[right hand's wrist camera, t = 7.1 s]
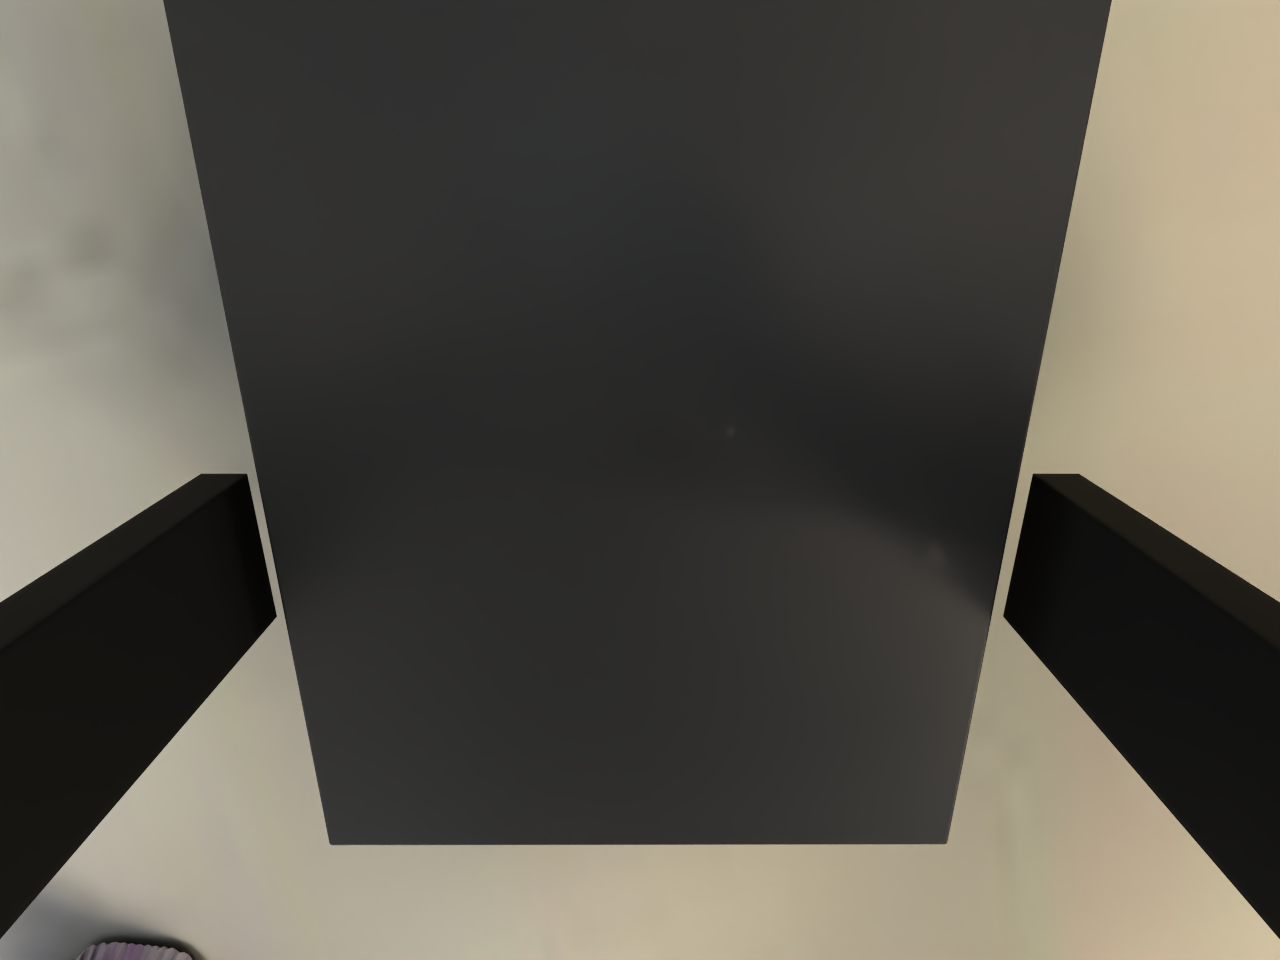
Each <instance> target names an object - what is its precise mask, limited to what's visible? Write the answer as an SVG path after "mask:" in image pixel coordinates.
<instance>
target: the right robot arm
mask: <svg viewBox="0 0 1280 960" xmlns="http://www.w3.org/2000/svg"><path fill="white" fill-rule="evenodd" d="M276 617H277V615H276V610H275V605H274V601H273V596H272V591H271V586H270V581H269V577H268V572H267V567H266V562H265V557H264V553H263V548H262V543H261V538H260V534H259V529H258V524H257V519H256V514H255V510H254V505H253V500H252V495H251V491H250V486H249V481H248V476H247V474H200V475H199V476H197V477H196V478H194V479H192V480H191V481H189V482H188V483H186V484H185V485H183V486H181V487H180V488H178V489H177V490H175V491H174V492H172V493H171V494H169V495H167V496H166V497H164V498H163V499H161V500H160V501H158V502H156V503H155V504H153V505H152V506H150V507H149V508H147V509H146V510H144V511H142V512H141V513H139V514H138V515H136V516H135V517H133V518H131V519H130V520H128V521H127V522H125V523H124V524H122V525H121V526H119V527H117V528H116V529H114V530H113V531H111V532H110V533H108V534H107V535H105V536H103V537H102V538H100V539H99V540H97V541H96V542H94V543H92V544H91V545H89V546H88V547H86V548H85V549H83V550H82V551H80V552H78V553H77V554H75V555H74V556H72V557H71V558H69V559H67V560H66V561H64V562H63V563H61V564H60V565H58V566H57V567H55V568H53V569H52V570H50V571H49V572H47V573H46V574H44V575H42V576H41V577H39V578H38V579H36V580H35V581H33V582H32V583H30V584H28V585H27V586H25V587H24V588H22V589H21V590H19V591H18V592H16V593H14V594H13V595H11V596H10V597H8V598H7V599H5V600H3V601H2V602H0V939H1V938H2V936H3V935H4V934H5V933H6V932H7V931H8V929H9V928H10V927H11V926H12V925H13V924H14V922H15V921H16V920H17V919H18V918H19V917H20V915H21V914H22V913H23V912H24V911H25V910H26V908H27V907H28V906H29V905H30V904H31V903H32V901H33V900H34V899H35V898H36V897H37V896H38V894H39V893H40V892H41V891H42V890H43V889H44V887H45V886H46V885H47V884H48V883H49V882H50V880H51V879H52V878H53V877H54V876H55V875H56V873H57V872H58V871H59V870H60V869H61V868H62V866H63V865H64V864H65V863H66V862H67V861H68V859H69V858H70V857H71V856H72V855H73V854H74V852H75V851H76V850H77V849H78V848H79V847H80V845H81V844H82V843H83V842H84V841H85V840H86V838H87V837H88V836H89V835H90V834H91V833H92V831H93V830H94V829H95V828H96V827H97V826H98V824H99V823H100V822H101V821H102V820H103V819H104V817H105V816H106V815H107V814H108V813H109V812H110V810H111V809H112V808H113V807H114V806H115V805H116V803H117V802H118V801H119V800H120V799H121V798H122V796H123V795H124V794H125V793H126V792H127V791H128V789H129V788H130V787H131V786H132V785H133V784H134V782H135V781H136V780H137V779H138V778H139V777H140V775H141V774H142V773H143V772H144V771H145V770H146V768H147V767H148V766H149V765H150V764H151V763H152V761H153V760H154V759H155V758H156V757H157V756H158V754H159V753H160V752H161V751H162V750H163V749H164V747H165V746H166V745H167V744H168V743H169V742H170V740H171V739H172V738H173V737H174V736H175V735H176V733H177V732H178V731H179V730H180V729H181V728H182V726H183V725H184V724H185V723H186V722H187V721H188V719H189V718H190V717H191V716H192V715H193V714H194V712H195V711H196V710H197V709H198V708H199V707H200V705H201V704H202V703H203V702H204V701H205V700H206V698H207V697H208V696H209V695H210V694H211V693H212V691H213V690H214V689H215V688H216V687H217V686H218V684H219V683H220V682H221V681H222V680H223V679H224V677H225V676H226V675H227V674H228V673H229V672H230V670H231V669H232V668H233V667H234V666H235V665H236V663H237V662H238V661H239V660H240V659H241V658H242V656H243V655H244V654H245V653H246V652H247V651H248V649H249V648H250V647H251V646H252V645H253V644H254V642H255V641H256V640H257V639H258V638H259V637H260V635H261V634H262V633H263V632H264V631H265V630H266V628H267V627H268V626H269V625H270V624H271V623H272V621H273V620H274V619H275V618H276ZM1003 617H1004V618H1005V619H1006V620H1007V621H1008V623H1009V624H1010V625H1011V626H1012V627H1013V628H1014V630H1015V631H1016V632H1017V633H1018V634H1019V635H1020V637H1021V638H1022V639H1023V640H1024V641H1025V642H1026V644H1027V645H1028V646H1029V647H1030V648H1031V649H1032V651H1033V652H1034V653H1035V654H1036V655H1037V656H1038V658H1039V659H1040V660H1041V661H1042V662H1043V663H1044V665H1045V666H1046V667H1047V668H1048V669H1049V670H1050V672H1051V673H1052V674H1053V675H1054V676H1055V677H1056V679H1057V680H1058V681H1059V682H1060V683H1061V684H1062V686H1063V687H1064V688H1065V689H1066V690H1067V691H1068V693H1069V694H1070V695H1071V696H1072V697H1073V698H1074V700H1075V701H1076V702H1077V703H1078V704H1079V705H1080V707H1081V708H1082V709H1083V710H1084V711H1085V712H1086V714H1087V715H1088V716H1089V717H1090V718H1091V719H1092V721H1093V722H1094V723H1095V724H1096V725H1097V726H1098V728H1099V729H1100V730H1101V731H1102V732H1103V733H1104V735H1105V736H1106V737H1107V738H1108V739H1109V740H1110V742H1111V743H1112V744H1113V745H1114V746H1115V747H1116V749H1117V750H1118V751H1119V752H1120V753H1121V754H1122V756H1123V757H1124V758H1125V759H1126V760H1127V761H1128V763H1129V764H1130V765H1131V766H1132V767H1133V768H1134V770H1135V771H1136V772H1137V773H1138V774H1139V775H1140V777H1141V778H1142V779H1143V780H1144V781H1145V782H1146V784H1147V785H1148V786H1149V787H1150V788H1151V789H1152V791H1153V792H1154V793H1155V794H1156V795H1157V796H1158V798H1159V799H1160V800H1161V801H1162V802H1163V803H1164V805H1165V806H1166V807H1167V808H1168V809H1169V810H1170V812H1171V813H1172V814H1173V815H1174V816H1175V817H1176V819H1177V820H1178V821H1179V822H1180V823H1181V824H1182V826H1183V827H1184V828H1185V829H1186V830H1187V831H1188V833H1189V834H1190V835H1191V836H1192V837H1193V838H1194V840H1195V841H1196V842H1197V843H1198V844H1199V845H1200V847H1201V848H1202V849H1203V850H1204V851H1205V852H1206V854H1207V855H1208V856H1209V857H1210V858H1211V859H1212V861H1213V862H1214V863H1215V864H1216V865H1217V866H1218V868H1219V869H1220V870H1221V871H1222V872H1223V873H1224V875H1225V876H1226V877H1227V878H1228V879H1229V880H1230V882H1231V883H1232V884H1233V885H1234V886H1235V887H1236V889H1237V890H1238V891H1239V892H1240V893H1241V894H1242V896H1243V897H1244V898H1245V899H1246V900H1247V901H1248V903H1249V904H1250V905H1251V906H1252V907H1253V908H1254V910H1255V911H1256V912H1257V913H1258V914H1259V915H1260V917H1261V918H1262V919H1263V920H1264V921H1265V922H1266V924H1267V925H1268V926H1269V927H1270V928H1271V929H1272V931H1273V932H1274V933H1275V934H1276V935H1277V936H1278V938H1279V939H1280V602H1278V601H1277V600H1275V599H1273V598H1272V597H1270V596H1269V595H1267V594H1266V593H1264V592H1262V591H1261V590H1259V589H1258V588H1256V587H1255V586H1253V585H1252V584H1250V583H1248V582H1247V581H1245V580H1244V579H1242V578H1241V577H1239V576H1238V575H1236V574H1234V573H1233V572H1231V571H1230V570H1228V569H1227V568H1225V567H1223V566H1222V565H1220V564H1219V563H1217V562H1216V561H1214V560H1213V559H1211V558H1209V557H1208V556H1206V555H1205V554H1203V553H1202V552H1200V551H1198V550H1197V549H1195V548H1194V547H1192V546H1191V545H1189V544H1188V543H1186V542H1184V541H1183V540H1181V539H1180V538H1178V537H1177V536H1175V535H1173V534H1172V533H1170V532H1169V531H1167V530H1166V529H1164V528H1163V527H1161V526H1159V525H1158V524H1156V523H1155V522H1153V521H1152V520H1150V519H1149V518H1147V517H1145V516H1144V515H1142V514H1141V513H1139V512H1138V511H1136V510H1134V509H1133V508H1131V507H1130V506H1128V505H1127V504H1125V503H1124V502H1122V501H1120V500H1119V499H1117V498H1116V497H1114V496H1113V495H1111V494H1109V493H1108V492H1106V491H1105V490H1103V489H1102V488H1100V487H1099V486H1097V485H1095V484H1094V483H1092V482H1091V481H1089V480H1088V479H1086V478H1084V477H1083V476H1081V475H1080V474H1033V476H1032V481H1031V486H1030V491H1029V495H1028V500H1027V505H1026V510H1025V514H1024V519H1023V524H1022V529H1021V534H1020V538H1019V543H1018V548H1017V553H1016V557H1015V562H1014V567H1013V572H1012V577H1011V581H1010V586H1009V591H1008V596H1007V601H1006V605H1005V610H1004V615H1003Z"/></svg>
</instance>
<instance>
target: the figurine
mask: <svg viewBox="0 0 1280 960" xmlns="http://www.w3.org/2000/svg"><path fill="white" fill-rule="evenodd" d="M75 960H192V958H191V957H190V956H189V955H188V954H187V953H185V952H182V953H180V952H179V951H177V950H175V949H174V948H169V949H168V948H166V947H165V946H164V947H161V948H160V947H158V946H153V947H152V946H150V945H146V946H143V945H141V944H138V945H135V944H133V943H130V944H126V943H124V942H123V943H118V942H112V943H110V944H106V943H105V942H103V943H101V944H99V945H97V946H95V945H94V944H93V945H91V946H90V947H88V948H87V949H85V950H84V951H83V952H82V953H81V954H80V955H79V956H78V957H77V958H76V959H75Z"/></svg>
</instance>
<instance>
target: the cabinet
mask: <svg viewBox="0 0 1280 960" xmlns="http://www.w3.org/2000/svg"><path fill="white" fill-rule="evenodd" d="M163 1H164V6H165V11H166V16H167V21H168V26H169V32H170V37H171V42H172V47H173V52H174V57H175V62H176V67H177V72H178V77H179V82H180V87H181V92H182V97H183V102H184V108H185V113H186V118H187V123H188V128H189V133H190V138H191V143H192V148H193V153H194V158H195V163H196V168H197V173H198V178H199V184H200V189H201V194H202V199H203V204H204V209H205V214H206V219H207V224H208V229H209V234H210V239H211V244H212V249H213V254H214V260H215V265H216V270H217V275H218V280H219V285H220V290H221V295H222V300H223V305H224V310H225V315H226V320H227V325H228V330H229V336H230V341H231V346H232V351H233V356H234V361H235V366H236V371H237V376H238V381H239V386H240V391H241V396H242V401H243V406H244V412H245V417H246V422H247V427H248V432H249V437H250V442H251V447H252V452H253V457H254V462H255V467H256V472H257V477H258V482H259V488H260V493H261V498H262V503H263V508H264V513H265V518H266V523H267V528H268V533H269V538H270V543H271V548H272V553H273V558H274V564H275V569H276V574H277V579H278V584H279V589H280V594H281V599H282V604H283V609H284V614H285V619H286V624H287V629H288V634H289V640H290V645H291V650H292V655H293V660H294V665H295V670H296V675H297V680H298V685H299V690H300V695H301V700H302V705H303V710H304V716H305V721H306V726H307V731H308V736H309V741H310V746H311V751H312V756H313V761H314V766H315V771H316V776H317V781H318V786H319V792H320V797H321V802H322V807H323V812H324V817H325V822H326V827H327V832H328V837H329V842H330V844H331V845H693V844H946V843H947V841H948V836H949V831H950V825H951V820H952V815H953V810H954V805H955V800H956V795H957V790H958V784H959V779H960V774H961V769H962V764H963V759H964V754H965V749H966V744H967V738H968V733H969V728H970V723H971V718H972V713H973V708H974V703H975V697H976V692H977V687H978V682H979V677H980V672H981V667H982V662H983V656H984V651H985V646H986V641H987V636H988V631H989V626H990V621H991V615H992V610H993V605H994V600H995V595H996V590H997V585H998V580H999V574H1000V569H1001V564H1002V559H1003V554H1004V549H1005V544H1006V539H1007V534H1008V528H1009V523H1010V518H1011V513H1012V508H1013V503H1014V498H1015V493H1016V487H1017V482H1018V477H1019V472H1020V467H1021V462H1022V457H1023V452H1024V446H1025V441H1026V436H1027V431H1028V426H1029V421H1030V416H1031V411H1032V405H1033V400H1034V395H1035V390H1036V385H1037V380H1038V375H1039V370H1040V365H1041V359H1042V354H1043V349H1044V344H1045V339H1046V334H1047V329H1048V324H1049V318H1050V313H1051V308H1052V303H1053V298H1054V293H1055V288H1056V283H1057V277H1058V272H1059V267H1060V262H1061V257H1062V252H1063V247H1064V242H1065V236H1066V231H1067V226H1068V221H1069V216H1070V211H1071V206H1072V201H1073V196H1074V190H1075V185H1076V180H1077V175H1078V170H1079V165H1080V160H1081V155H1082V149H1083V144H1084V139H1085V134H1086V129H1087V124H1088V119H1089V114H1090V108H1091V103H1092V98H1093V93H1094V88H1095V83H1096V78H1097V73H1098V67H1099V62H1100V57H1101V52H1102V47H1103V42H1104V37H1105V32H1106V26H1107V21H1108V16H1109V11H1110V6H1111V1H1112V0H163Z"/></svg>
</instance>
